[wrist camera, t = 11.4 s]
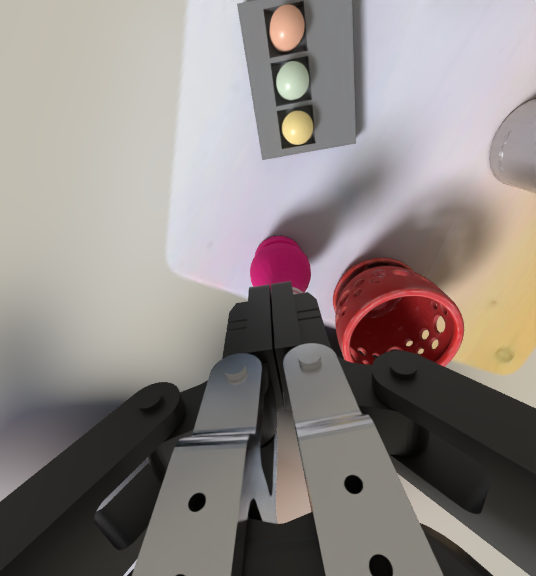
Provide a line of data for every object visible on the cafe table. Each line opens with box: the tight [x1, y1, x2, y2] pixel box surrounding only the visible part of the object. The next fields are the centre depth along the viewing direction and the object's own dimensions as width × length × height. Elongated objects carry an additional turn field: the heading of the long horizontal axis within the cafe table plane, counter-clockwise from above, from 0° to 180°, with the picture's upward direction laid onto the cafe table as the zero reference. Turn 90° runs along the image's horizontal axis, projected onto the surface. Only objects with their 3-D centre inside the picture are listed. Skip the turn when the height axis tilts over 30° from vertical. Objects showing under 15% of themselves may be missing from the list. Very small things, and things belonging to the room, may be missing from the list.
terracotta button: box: [269, 4, 305, 53], centre depth 29 cm, size 3×3×3 cm
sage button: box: [276, 61, 309, 100], centre depth 31 cm, size 3×3×3 cm
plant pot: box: [333, 258, 464, 367], centre depth 40 cm, size 13×13×12 cm
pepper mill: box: [250, 236, 311, 295], centre depth 34 cm, size 7×7×20 cm
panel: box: [237, 0, 356, 160], centre depth 32 cm, size 10×13×2 cm
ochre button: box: [281, 111, 313, 145], centre depth 33 cm, size 3×3×3 cm
